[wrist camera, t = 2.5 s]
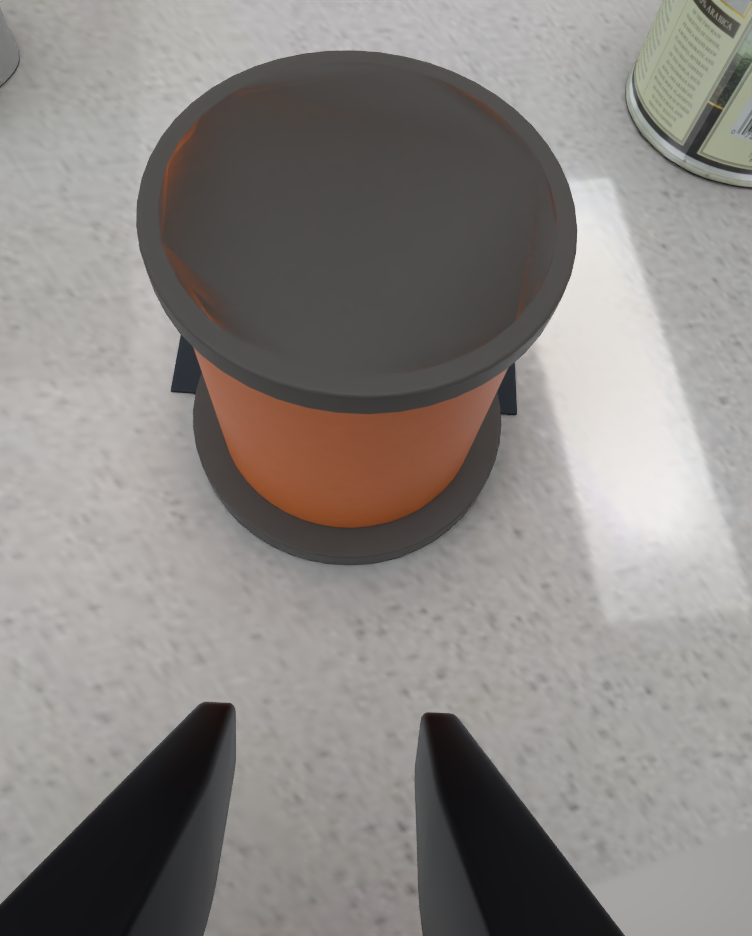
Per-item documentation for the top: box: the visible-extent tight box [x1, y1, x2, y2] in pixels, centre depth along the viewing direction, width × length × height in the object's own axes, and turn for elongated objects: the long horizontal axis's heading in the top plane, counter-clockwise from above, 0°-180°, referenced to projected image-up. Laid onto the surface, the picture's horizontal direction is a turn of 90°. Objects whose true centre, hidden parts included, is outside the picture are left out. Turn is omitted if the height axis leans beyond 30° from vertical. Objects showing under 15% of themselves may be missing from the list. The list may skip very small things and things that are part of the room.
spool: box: [136, 51, 577, 565], centre depth 20 cm, size 11×11×11 cm
